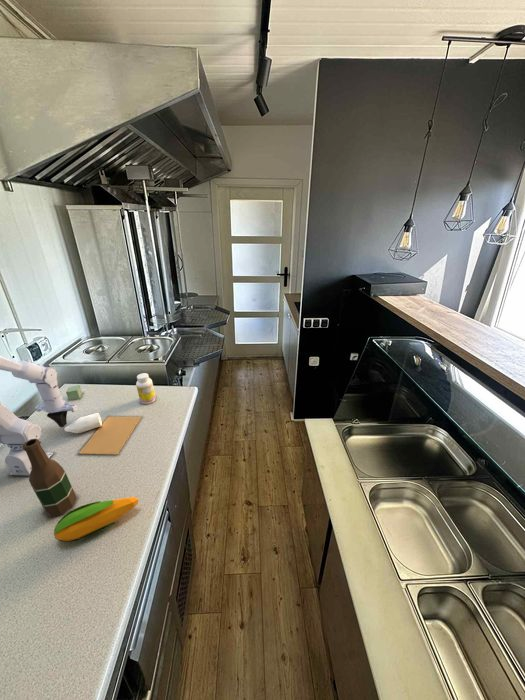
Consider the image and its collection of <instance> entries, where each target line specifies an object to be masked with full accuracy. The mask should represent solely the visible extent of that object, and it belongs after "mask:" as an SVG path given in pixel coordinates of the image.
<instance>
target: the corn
mask: <svg viewBox="0 0 525 700" xmlns="http://www.w3.org/2000/svg"><path fill="white" fill-rule="evenodd" d="M138 504H139V498H138V497H135V496H130V497H124V498H117V499H111V500H104V501H101V500H99V501H94V502H90V503H86V504H83V505H80V506H78V507H76V508H74V509H71V510H69V512H67V513H66V514H64V515H63V516H62V517H61V518H60V519H59V521H58V522H57V523H56V525H55V527H54V530H53V536H54V538H55V539H56V540H57V541H59V542H62V543H63V542H64V543H71V542H74V541H79V540H82V539H85V538H87V537H89V536H93V535H94V534H96V533H99V532H101V531H103V530H105V529H107V528H109V527H111V526H113V525H115V524H116V522H115V521H117V520H119V519H120V518H121V517H123V516H124V515H125V514H127V513H129V512H130V511H131V510H132V509H134V508H136V506H137V505H138Z"/></svg>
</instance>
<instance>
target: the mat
mask: <svg viewBox="0 0 525 700" xmlns="http://www.w3.org/2000/svg"><path fill="white" fill-rule="evenodd" d="M141 419H142V416H107V417H106V418H105V420H104V421H102V426H100V427H98V429H97V430H96V431H95V432H94V433H93V434H92V436H91V437H90V438H89V440H88V441H87V442H86V443H85V445H84V446H83V447H82V448H81V449H80V451H79V452H78V455H105V456H106V455H107V456H109V455H110V456H111V455H112V456H113V455H115V456H118V455H119V453H120V451H121V450H122V449H123V447H124V445H125V444H126V442H127V441H128V439H129V437H130V436H131V435H132V433H133V431H134V430H135V428H136V427H137V425H138V423H139V422H140V421H141Z"/></svg>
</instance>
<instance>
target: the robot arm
mask: <svg viewBox="0 0 525 700" xmlns="http://www.w3.org/2000/svg"><path fill="white" fill-rule="evenodd" d="M0 371H4V372H9V373H11V375H12V377H14V378H17V379H22V380H25V381H28V382H29V383H30V384H35V387H36V389H37V392H38V393H39V396H40V398H41V400H42V404H37V405H36V406H35V407H34V409H35V411H36V412H38V413H39V412H42V411H43V412H45V413H47V414H46V417H47V418H49V419H50V420H52V421H54V423H56V424H57V426H58V427H59V428H65V427H66V426H67V424H68V421H67V417H68V416H67V415H68V412H71V413H75V412H76V411H77V410H78V407H77V404H72V403H68V402H66V400H65V399H64V398H63V396H62V394H61V391H60V389H59V386H58V372H57V370H55V369H54V368H53V367H51V366H43V365H42V364H41V363H33V362H32V360H30V359H23V360H19V361H16V360H13V359H10V358H8V357H4V356H2V355H0ZM41 436H42V429H41V427H40V425H39V424H37V423H36V424H34V423H32V422H31V421H30V420H26V419H23V418H20V417H18V416H17V415H16V414H15V413H14V412H12V411H11V410H10V409H9V408H8V407H6V406H5V405H4V404H3V402H1V401H0V444H1V445H6V446H7V447H8V448H9V452H8V454H7V455H6V457H5V458H4V462H5V464H6V466H7V467H8V469H9V471H10V473H9V475H10V476H29V475H30V472H31V470H32V467H31V463H30V460H29V458H28V455H27V453H26V451H25V450H24V449H23V445H24V443H25V442H27V441H29V440H31V439H36V438H37V439H38V440H39V441H40V438H41ZM40 445H41V446H42V448H43V450H44V451H45V449H44V447H43V445H42V443H41V444H40ZM45 453H46V455H47V456H48V458H49V459H51V457H52V455H54V452H51V451H49V452H48V451H45Z"/></svg>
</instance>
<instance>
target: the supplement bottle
mask: <svg viewBox="0 0 525 700" xmlns="http://www.w3.org/2000/svg"><path fill="white" fill-rule="evenodd" d="M136 380H137V381H136V383H135V386H136V390H137V395H138V398H139V402H140V403H141V404H143V405H148V404H151V403H153V402H154V401H155V400H156V397H157V396H156V393H155V388H154V383H153V380H152V378H150V376H149V373H147V372H142V373H139V374H137V376H136Z"/></svg>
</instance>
